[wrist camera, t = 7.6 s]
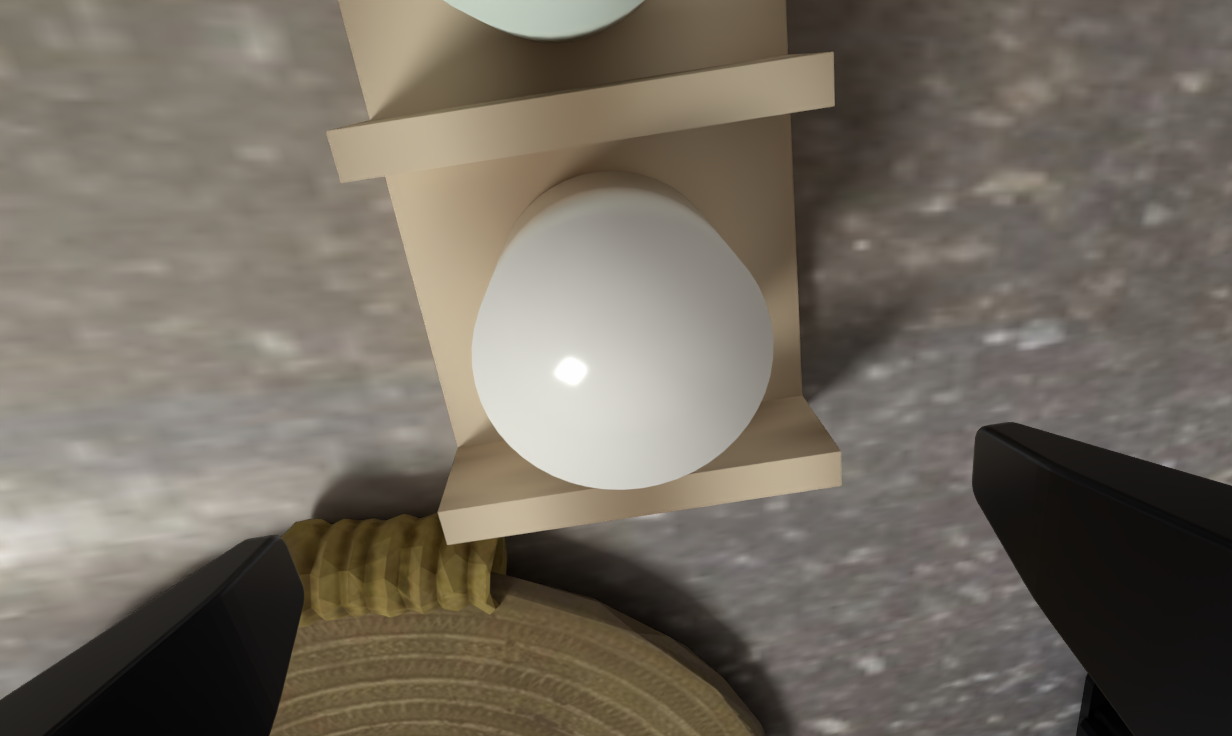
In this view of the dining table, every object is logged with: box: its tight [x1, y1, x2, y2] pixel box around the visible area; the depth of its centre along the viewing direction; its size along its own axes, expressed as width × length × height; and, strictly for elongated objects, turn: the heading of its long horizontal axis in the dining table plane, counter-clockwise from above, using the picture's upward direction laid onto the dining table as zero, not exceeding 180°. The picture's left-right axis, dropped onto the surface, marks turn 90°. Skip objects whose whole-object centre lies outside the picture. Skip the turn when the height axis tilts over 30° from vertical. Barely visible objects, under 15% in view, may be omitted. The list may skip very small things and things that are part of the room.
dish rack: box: [326, 0, 842, 545], centre depth 16 cm, size 10×19×4 cm, turn 8°
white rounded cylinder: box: [472, 171, 774, 490], centre depth 16 cm, size 6×6×5 cm
